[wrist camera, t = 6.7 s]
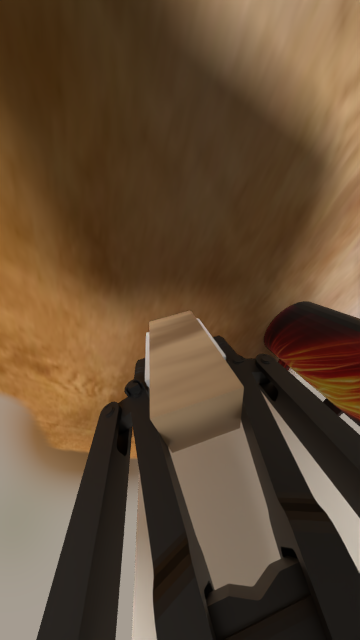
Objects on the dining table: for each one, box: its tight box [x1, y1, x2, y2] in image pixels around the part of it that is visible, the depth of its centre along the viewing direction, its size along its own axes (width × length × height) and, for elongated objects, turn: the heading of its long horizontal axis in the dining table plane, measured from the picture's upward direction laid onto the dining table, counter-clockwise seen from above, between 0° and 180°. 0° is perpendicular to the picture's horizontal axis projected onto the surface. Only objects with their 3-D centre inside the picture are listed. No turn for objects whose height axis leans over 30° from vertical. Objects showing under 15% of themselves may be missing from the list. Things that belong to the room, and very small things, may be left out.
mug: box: [264, 302, 360, 426], centre depth 18 cm, size 10×14×12 cm
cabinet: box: [132, 393, 360, 640], centre depth 18 cm, size 15×18×20 cm
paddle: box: [149, 310, 244, 453], centre depth 17 cm, size 25×5×10 cm, turn 11°
